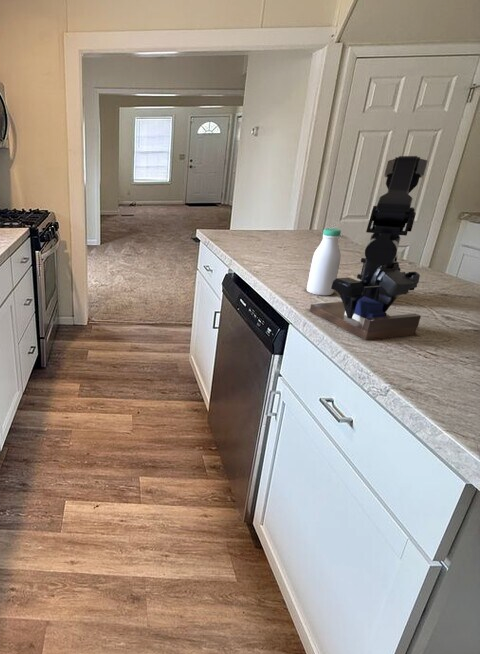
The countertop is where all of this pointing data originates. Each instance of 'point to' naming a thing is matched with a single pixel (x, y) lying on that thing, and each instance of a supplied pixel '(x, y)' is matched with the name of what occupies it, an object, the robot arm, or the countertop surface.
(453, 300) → the countertop surface
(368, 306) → the navy white-based block
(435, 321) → the countertop surface
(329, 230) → the milk bottle
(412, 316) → the brown wooden tray
